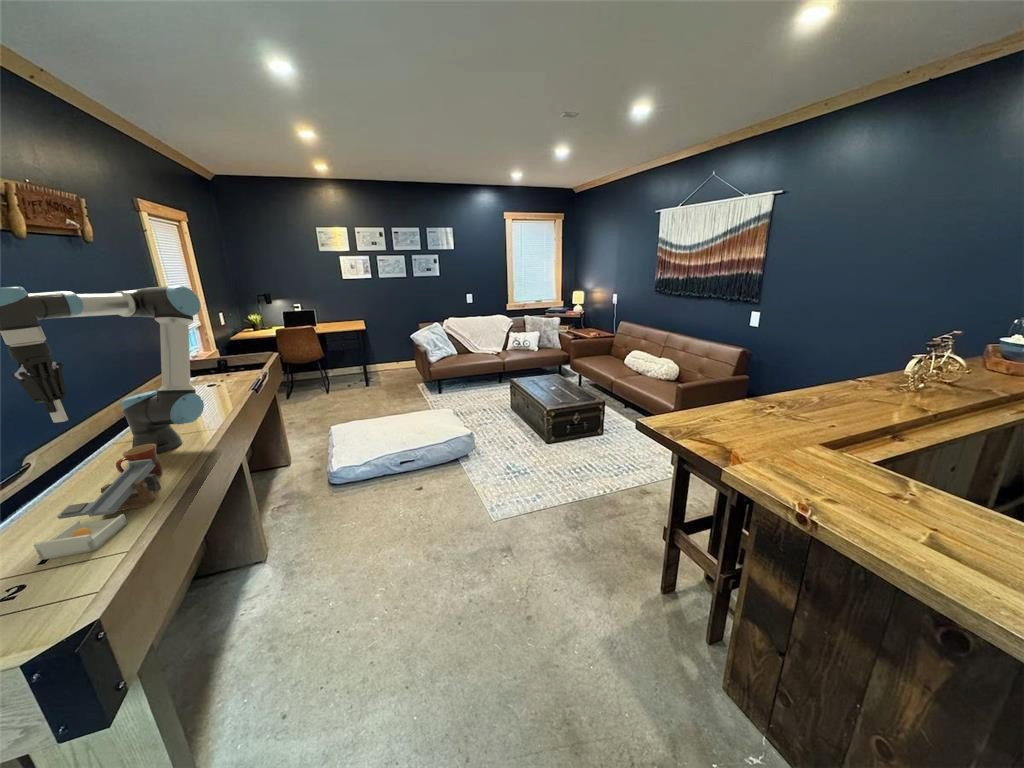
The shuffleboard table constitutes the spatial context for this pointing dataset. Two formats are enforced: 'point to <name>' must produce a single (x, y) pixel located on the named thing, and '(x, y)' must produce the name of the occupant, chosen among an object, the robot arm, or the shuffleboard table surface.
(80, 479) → the shuffleboard table surface
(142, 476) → the lever
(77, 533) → the ball
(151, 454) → the mug
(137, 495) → the fulcrum
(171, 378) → the robot arm
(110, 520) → the tray
